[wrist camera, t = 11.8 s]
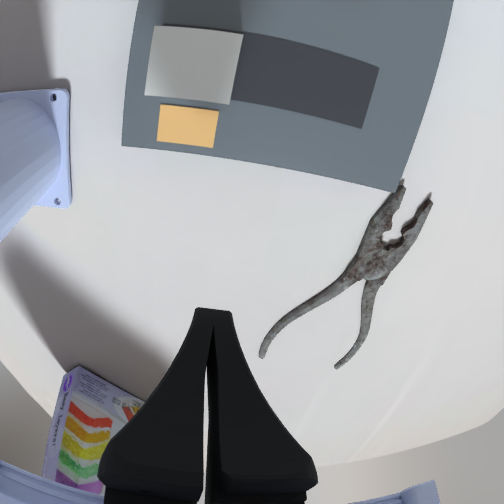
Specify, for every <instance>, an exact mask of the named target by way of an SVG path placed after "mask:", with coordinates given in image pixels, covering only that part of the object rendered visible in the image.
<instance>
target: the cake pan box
mask: <svg viewBox="0 0 504 504" xmlns="http://www.w3.org/2000/svg"><path fill="white" fill-rule="evenodd" d="M144 403H145V401H143V400H141V399H139V398H137V397H135V396H133V395H131V394H129V393H127V392H125V391H123V390H121V389H119V388H118V387H116V386H114V385H112V384H110V383H108V382H107V381H105V380H103V379H101V378H100V377H98V376H96V375H94V374H93V373H91V372H89V371H87V370H86V369H84V368H82V367H80V366H78V367H76V368H74V369H73V370H71V371H70V372H68V373H66V374H65V375H64V376H63V380H62V384H61V387H60V391H59V395H58V399H57V403H56V407H55V411H54V415H53V419H52V423H51V427H50V431H49V436H48V441H47V446H46V452H45V458H44V464H43V470H42V476H41V477H43V478H46V479H49V480H51V481H54V482H57V483H60V484H63V485H67V486H70V487H73V488H76V489H80V490H83V491H87V492H91V493H95V494H98V495H102V496H104V495H105V487H106V486H105V485H104V484H103V483H102V482H101V481H100V480H99V479H98V477H97V473H98V467H99V462H100V459H101V456H102V454H103V452H104V450H105V448H106V446H107V444H108V443H109V441H110V439H111V438H112V437H113V436H114V435H116V434H117V433H118V432H119V431H120V430H121V429H122V428H123V427H124V426H125V425H126V424H127V423H128V422H129V420H130V419H131V418H132V417H133V416H134V415H135V414H136V412H137V411H138V410H139V409H140V408H141V407H142V406H143V404H144Z"/></svg>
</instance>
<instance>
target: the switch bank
mask: <svg viewBox="0 0 504 504" xmlns="http://www.w3.org/2000/svg"><path fill="white" fill-rule="evenodd" d="M453 1H454V0H139V2H138V7H137V12H136V18H135V23H134V29H133V35H132V42H131V49H130V56H129V63H128V71H127V80H126V90H125V101H124V113H123V127H122V146H128V147H139V148H149V149H159V150H168V151H176V152H184V153H192V154H200V155H207V156H214V157H221V158H227V159H234V160H240V161H246V162H252V163H258V164H264V165H269V166H275V167H280V168H286V169H291V170H296V171H301V172H306V173H311V174H316V175H320V176H325V177H330V178H334V179H339V180H343V181H347V182H352V183H356V184H360V185H364V186H368V187H372V188H376V189H380V190H384V191H388V192H392V193H395V192H396V189H397V187H398V184H399V182H400V179H401V177H402V174H403V171H404V169H405V166H406V163H407V161H408V158H409V155H410V153H411V150H412V147H413V144H414V142H415V139H416V136H417V133H418V130H419V127H420V124H421V121H422V118H423V115H424V112H425V109H426V106H427V103H428V99H429V96H430V93H431V90H432V86H433V83H434V79H435V76H436V72H437V69H438V65H439V62H440V58H441V54H442V50H443V46H444V42H445V38H446V34H447V29H448V25H449V21H450V16H451V11H452V6H453ZM154 26H172V27H186V28H197V29H206V30H215V31H223V32H230V33H236V34H243V39H242V44H241V49H240V53H239V58H238V63H237V68H236V73H235V78H234V83H233V88H232V93H231V98H230V104H229V105H227V104H221V103H214V102H207V101H199V100H190V99H181V98H172V97H161V96H148V95H145V86H146V78H147V70H148V63H149V56H150V50H151V43H152V37H153V31H154Z"/></svg>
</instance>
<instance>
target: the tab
mask: <svg viewBox="0 0 504 504" xmlns="http://www.w3.org/2000/svg"><path fill="white" fill-rule="evenodd" d="M242 39H243V34H236V33H230V32H223V31H215V30H206V29H197V28H186V27H172V26H154V31H153V37H152V43H151V50H150V56H149V63H148V70H147V78H146V86H145V95H148V96H161V97H172V98H181V99H190V100H199V101H207V102H214V103H221V104H227V105H229V104H230V98H231V93H232V88H233V83H234V78H235V73H236V68H237V63H238V58H239V53H240V49H241V44H242Z"/></svg>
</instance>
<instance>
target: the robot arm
mask: <svg viewBox="0 0 504 504" xmlns="http://www.w3.org/2000/svg"><path fill="white" fill-rule="evenodd" d="M53 94H56V96H57V99H56V100H54V99H53ZM69 100H70V95H69V92H68V90H67V89H64V88H57V89H37V90H23V91H11V92H2V93H0V242H1V241H2V240H3V239H4V237H5V236H6V235H7V234H8V233H9V232H10V230H11V229H12V228H13V227H14V226H15V225H16V224H17V223H18V221H19V220H20V219H21V218H22V217H23V216H24V215H25V214H26V213H27V212H28V211H29V210H30V208H31V207H32V206H33V205H38V206H47V207H55V208H64V209H65V208H68V207H69V206H70V205H71V203H72V196H71V182H70V162H69ZM57 198H58V199H59V200H60V202H58V201H57ZM206 366H207V387H208V410H209V425H208V446H207V467H206V487H205V488H206V489H205V504H305V503H304V501H306V500H307V496H306V491H307V490H309V489H311V488H312V487H314V486H315V485H316V484H317V483H318V477H317V472H316V468H315V465H314V462H313V460H312V457H311V456H310V455H309V454H308V453H307V452H306V451H305V450H304V449H303V448H302V447H301V446H300V444H299V443H298V442H297V441H296V440H295V439H294V438H293V436H292V435H291V434H290V433H289V432H288V430H287V429H286V428H285V427H284V425H283V424H282V422H281V421H280V420H279V418H278V417H277V416H276V414H275V413H274V411H273V410H272V409H271V407H270V405H269V404H268V402H267V401H266V399H265V397H264V396H263V394H262V392H261V390H260V389H259V387H258V385H257V383H256V381H255V379H254V377H253V375H252V373H251V371H250V369H249V366H248V364H247V362H246V359H245V357H244V354H243V352H242V349H241V346H240V343H239V340H238V337H237V334H236V330H235V327H234V322H233V317H232V313H231V312H230V311H224V310H216V309H208V308H200V307H198V308H196V309H195V312H194V316H193V320H192V323H191V326H190V328H189V331H188V333H187V335H186V337H185V340H184V342H183V344H182V346H181V348H180V350H179V352H178V354H177V355H176V357H175V359H174V361H173V362H172V364H171V366H170V368H169V369H168V371H167V372H166V374H165V376H164V377H163V379H162V380H161V382H160V383H159V384H158V386H157V387H156V389H155V390H154V391H153V393H152V394H151V395H150V397H149V398H148V399H147V401H146V402H145V403H144V404H143V406H142V407H141V408H140V409H139V410H138V411H137V412H136V414H135V415H134V416H133V417H132V418H131V419H130V420H129V422H128V423H127V424H126V425H125V426H124V427H123V428H122V429H121V430H120V431H119V432H118V433H117V434H116V435H114V436H113V437H112V438H111V439H110V441H109V443H108V444H107V446H106V448H105V450H104V452H103V454H102V456H101V459H100V462H99V467H98V473H97V477H98V479H99V480H100V481H101V482H102V483H103V484H104V485H105V486H106V487H105V495H104V496H102V495H98V494H95V493H91V492H87V491H83V490H80V489H76V488H73V487H70V486H67V485H63V484H60V483H57V482H54V481H51V480H49V479H46V478H43V477H40V476H38V475H35V474H32V473H30V472H27V471H24V470H22V469H20V468H17V467H15V466H12V465H11V464H8V463H6V462H4V461H2V460H0V504H197V501H199V499H200V496H201V494H202V491H203V475H204V469H203V419H204V386H205V372H206ZM350 504H440V500H439V496H438V492H437V488H436V484H435V481H434V480H431V481H429V482H425V483H422V484H419V485H415V486H412V487H410V488H408V489H405V490H403V491H402V492H400V493H396V494H392V495H388V496H384V497H380V498H376V499H370V500H366V501H360V502H355V503H350Z"/></svg>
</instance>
